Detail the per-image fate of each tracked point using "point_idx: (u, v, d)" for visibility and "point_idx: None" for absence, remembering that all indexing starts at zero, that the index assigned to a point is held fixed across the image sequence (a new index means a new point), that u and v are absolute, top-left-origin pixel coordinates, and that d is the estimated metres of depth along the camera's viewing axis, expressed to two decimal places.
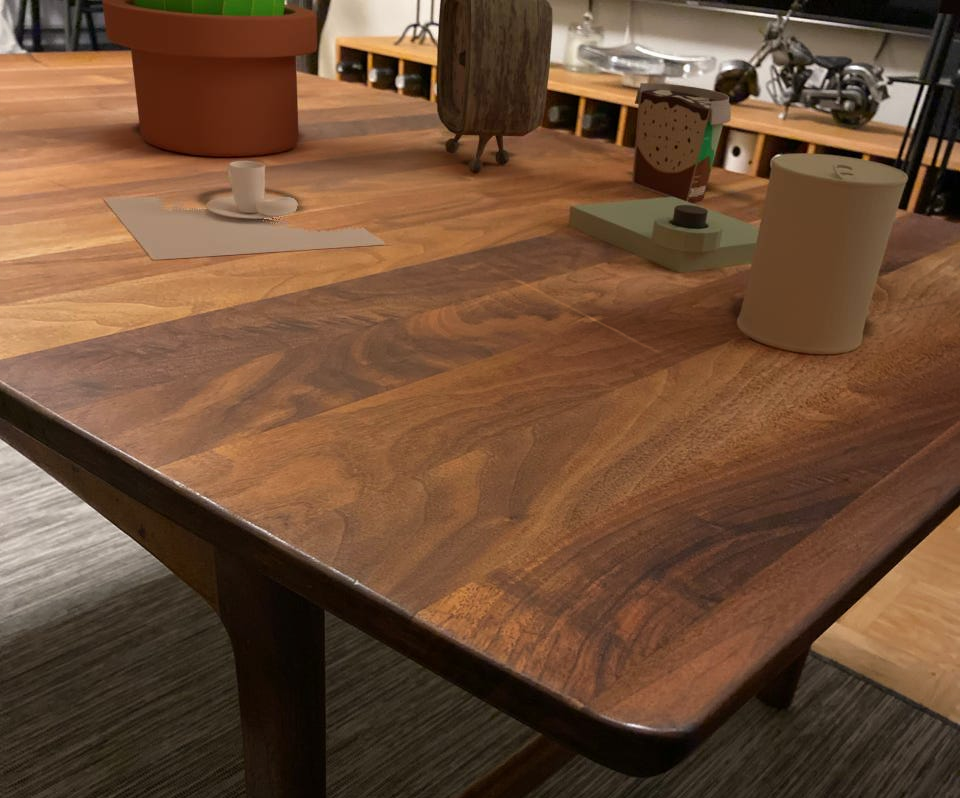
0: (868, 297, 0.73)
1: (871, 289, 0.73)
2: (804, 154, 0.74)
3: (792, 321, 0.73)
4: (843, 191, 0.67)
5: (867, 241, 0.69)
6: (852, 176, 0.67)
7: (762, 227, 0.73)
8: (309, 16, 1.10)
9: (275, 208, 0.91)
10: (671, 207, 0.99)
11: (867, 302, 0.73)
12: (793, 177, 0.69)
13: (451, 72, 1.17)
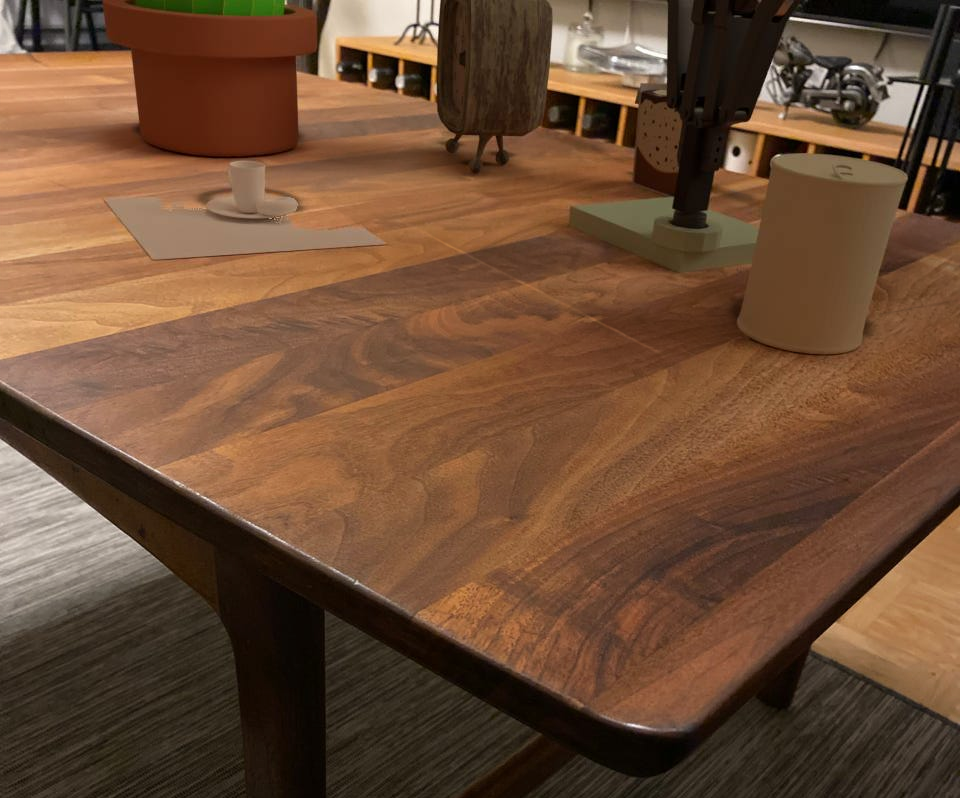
0: (868, 297, 0.73)
1: (871, 289, 0.73)
2: (804, 154, 0.74)
3: (792, 321, 0.73)
4: (842, 191, 0.67)
5: (867, 241, 0.69)
6: (852, 176, 0.67)
7: (762, 227, 0.73)
8: (309, 16, 1.10)
9: (275, 208, 0.91)
10: (671, 207, 0.99)
11: (867, 302, 0.73)
12: (792, 177, 0.69)
13: (451, 72, 1.17)
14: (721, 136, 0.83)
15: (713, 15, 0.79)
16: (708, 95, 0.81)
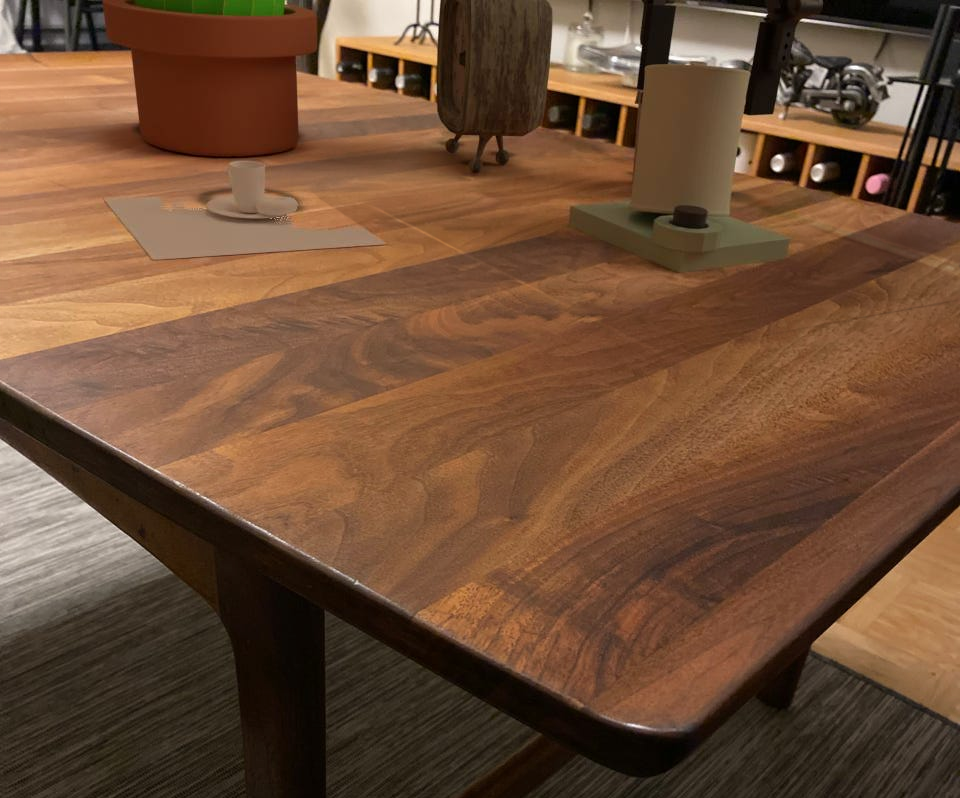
0: (728, 170, 0.90)
1: (730, 164, 0.90)
2: None
3: (668, 188, 0.90)
4: (697, 74, 0.86)
5: (721, 118, 0.88)
6: (704, 64, 0.86)
7: (641, 120, 0.91)
8: (309, 16, 1.10)
9: (275, 208, 0.91)
10: None
11: (728, 175, 0.91)
12: (659, 69, 0.87)
13: (451, 72, 1.17)
14: (790, 31, 0.80)
15: None
16: None
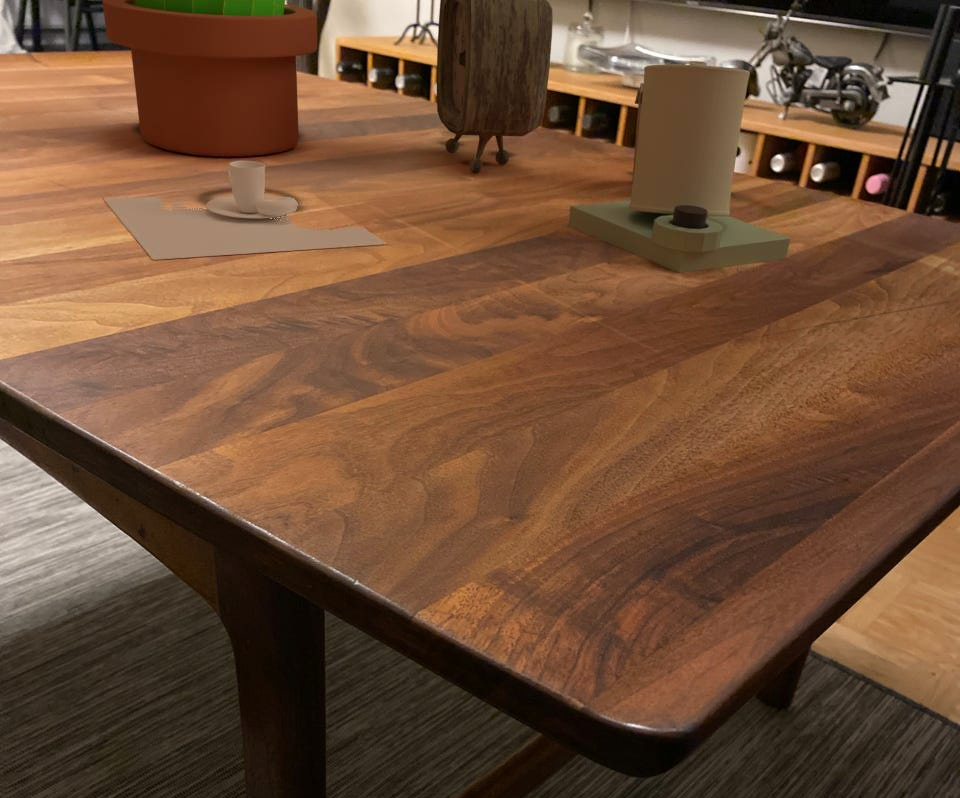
0: (728, 170, 0.90)
1: (730, 164, 0.90)
2: None
3: (668, 188, 0.90)
4: (696, 74, 0.86)
5: (720, 118, 0.88)
6: (703, 64, 0.86)
7: (640, 120, 0.91)
8: (309, 16, 1.10)
9: (275, 208, 0.91)
10: None
11: (728, 175, 0.91)
12: (658, 69, 0.87)
13: (451, 72, 1.17)
14: None
15: None
16: None
